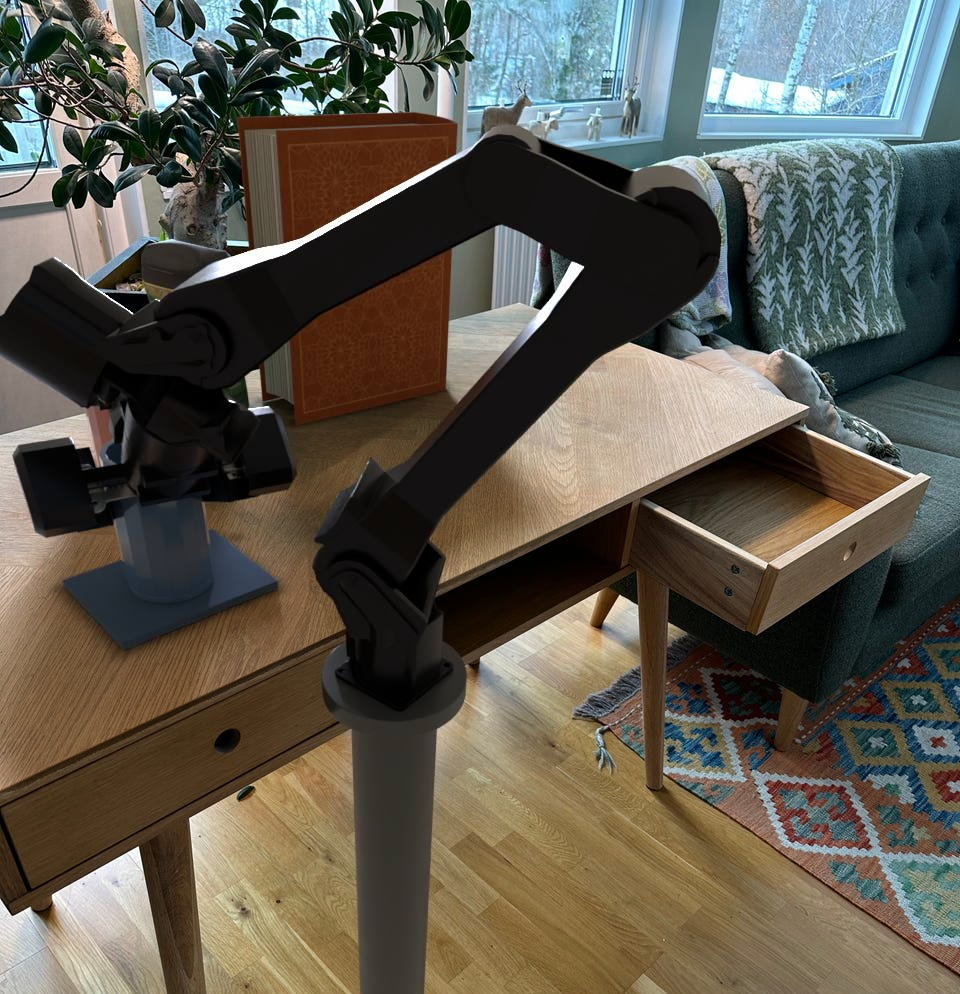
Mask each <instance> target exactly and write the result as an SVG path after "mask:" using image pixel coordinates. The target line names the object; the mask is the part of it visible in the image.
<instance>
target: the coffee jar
mask: <svg viewBox="0 0 960 994" xmlns="http://www.w3.org/2000/svg"><path fill="white" fill-rule="evenodd" d="M140 257H141V258H140V263H141V264H140V265H141V281H142V285H143V288H144V291H145V293H146V296H147V299H148V302H149V303H151V302H152V301H153V300H158V301H159V300H161V299H162V298H164V297H165V296H166V295H167V294H168V293H170V292H171V291H172V290H174V289H175V288H177V287H178V286H179V285H181V284H182V283H184V282H185V281H187V280H188V279H189V278H191V277H192V276H194V275H195V274H196V273H198V272H199V271H201V270H202V269H204V268H205V267H206V266H208V265H210V264H212V263H214V262H217V261H221V260H224V259H227V258H231V257H232V256H231V255H230V254H229V253H227V251H225V250H221V249H216V248H211V247H206V246H201V245H199V244H198V245H197V244H193V243H189V242H185V241H180V240H176V239H173V238H171V239H166V240H161V241H157V242H153V243H148V244H146V245H145V246H144V248H143V250H142V252H141V256H140ZM247 385H248V384H247V380H246V376H245V377H244V378H243V379H241V380H240V381H239V382H238V383H236V384H235V385H233V386H231V387H229V388H225V391H226V392H227V394H228V395H229V396H230V397H231V398H233V399H234V400H236V401H237V402H239V403H240V404H242V405H243V406H245V407H246V408H248V409H250V400H249V399H250V397H249V393H248V386H247Z"/></svg>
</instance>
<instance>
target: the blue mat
mask: <svg viewBox="0 0 960 994" xmlns="http://www.w3.org/2000/svg"><path fill="white" fill-rule="evenodd" d="M208 530H209V537H210V544H211V551H212V558H213V565H214V581H213V583H212V585H211V586H210V587H209V588H208V589H207V590H206V591H205V592H204V593H202V594H200V595H199V596H197V597H195V598H192V599H189V600H186V601H182V602H177V603H168V604H160V603H151V602H147V601H143V600H141V599H139V598H137V597H135V596H134V595H133V594H132V593H131V592H130V591H129V588H128V585H127V582H126V579H125V574H124V570H123V565H122V561H121V559H119V560H117V561H114V562H111V563H108V564H105V565H102V566H99V567H96V568H93V569H91V570H88V571H84V572H81V573H79V574H76V575H73V576H70V577H67V578H64V579H62V581H61V582H62V585H63V588H64V589H65V590H66V591H67V592H68V593H69V594H70V595H71V597H73V599H74V600H75V601H76V602H77V603H78V604H79V605H80V606H81V607H82V608H83V609H84V610H85V611H86V613H88V614H89V615H90V616H91V618H92V619H93V620H95V621H96V623H97V624H98V625H99V626H100V627H101V628H102V629H103V631H105V632H106V633H107V635H109V637H110V638H111V639H112V640H113V641H114V642H115V643H116V644H117V645H118V646H119V647H120V648H121V649H122V650H123V651H126V650H129V649H132V648H133V647H136V646H138V645H141V644H144V643H146V642H148V641H151V640H153V639H156V638H159V637H162V636H164V635H166V634H168V633H171V632H173V631H176V630H178V629H181V628H184V627H185V626H188V625H190V624H191V625H192V624H193V623H195V622H199V621H200V620H203V619H205V618H209V617H211V616H213V615H215V614H218V613H220V612H223V611H225V610H228V609H231V608H233V607H235V606H238V605H241V604H243V603H245V602H248V601H250V600H252V599H255V598H258V597H260V596H263V595H265V594H268V593H269V592H273V591H275V590H277V589H279V580H277V578H275V577H274V576H272V575H271V574H270V573H268V572H267V571H266V570H265V569H264V568H262V567H261V566H259V564H257V563H256V562H255V561H253V560H252V559H251V558H249V557H248V556H247V555H246V554H245V553H243V552H242V551H241V550H240V549H239V548H237V547H236V546H235V545H233V544H232V543H230V542H229V541H228V540H227V539H226V538H224V537H223V536H222V535H220V533H219V532H217V531H215V530H214V529H213V528H211V529H208Z"/></svg>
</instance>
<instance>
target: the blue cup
mask: <svg viewBox="0 0 960 994" xmlns="http://www.w3.org/2000/svg"><path fill="white" fill-rule="evenodd" d="M121 454H122V444H121V443H120V444H114V443H113V440H112V439H111V440H110V441H108V442H107V443H106V444H104V445H103V446H102V447H101V449H100V452H99V459H100V464H101V467H103V466H109V465H115V464H120V463H121ZM123 485H124V484H122V485H120V486H121V487H122V488H123ZM126 485H127V487H129V483H127V484H126ZM114 487H115V488H116V489H118V485H116V486H114ZM108 488H109V489H110V490H112V486H111V487H108ZM109 503H110V506H111V510H112V513H113V516H114V525H113V528H114V532H115V536H116V541H117V542H116V543H117V547H118V551H119V555H120V560H121V561H122V565H123V570H124V574H125V579H126V582H127V585H128V588H129V591H130V592H131V593H132V594H133V595H134V596H135V597H137V598H139V599H141V600H143V601H147V602H151V603H160V604H168V603H177V602H182V601H186V600H189V599H192V598H195V597H197V596H199V595H200V594H202V593H204V592H205V591H206V590H207V589H208V588H209V587H210V586H211V585H212V583H213V581H214V565H213V558H212V551H211V544H210V537H209V530H210V529H209V525H208V524H209V523H208V517H207V509H206V502H204V495H202V496H197V497H192V498H186V499H181V500H176V501H171V502H166V503H161V504H155V505H150V506H145V507H141V504H140V501H139V498H138V497H133V498H128V499H122V500H117V501H112V502H109Z"/></svg>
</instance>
